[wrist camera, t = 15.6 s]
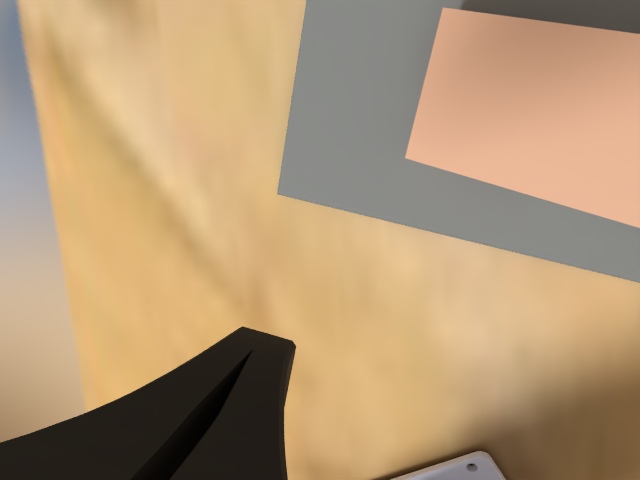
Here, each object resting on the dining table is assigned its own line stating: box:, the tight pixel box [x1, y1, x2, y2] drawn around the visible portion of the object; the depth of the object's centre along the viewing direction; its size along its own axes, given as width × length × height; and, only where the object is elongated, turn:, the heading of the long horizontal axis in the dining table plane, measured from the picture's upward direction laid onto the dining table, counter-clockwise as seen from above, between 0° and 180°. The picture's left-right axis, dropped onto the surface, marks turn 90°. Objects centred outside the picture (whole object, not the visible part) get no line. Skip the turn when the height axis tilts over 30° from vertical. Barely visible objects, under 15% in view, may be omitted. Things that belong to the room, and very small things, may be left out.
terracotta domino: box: [405, 8, 640, 228], centre depth 15 cm, size 2×5×9 cm
